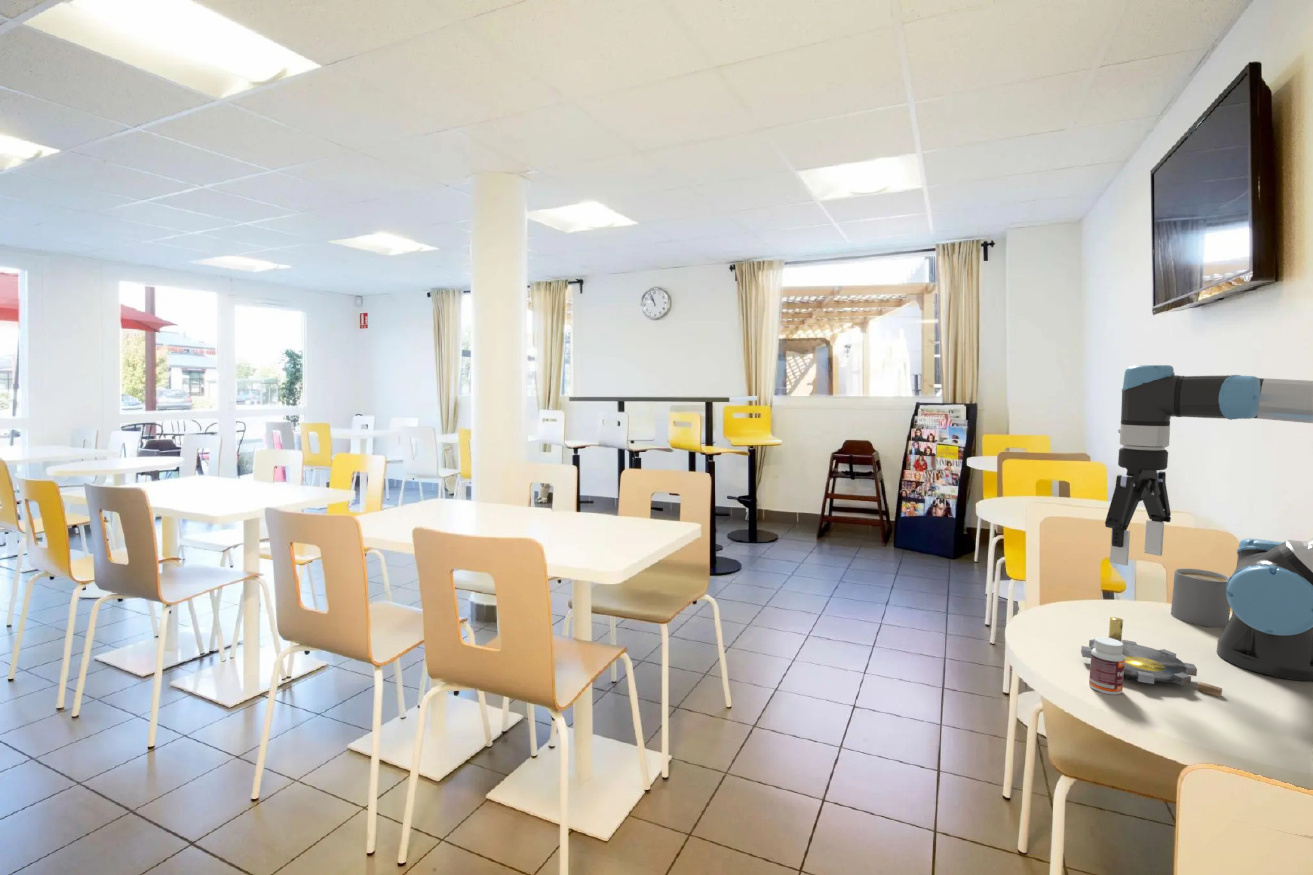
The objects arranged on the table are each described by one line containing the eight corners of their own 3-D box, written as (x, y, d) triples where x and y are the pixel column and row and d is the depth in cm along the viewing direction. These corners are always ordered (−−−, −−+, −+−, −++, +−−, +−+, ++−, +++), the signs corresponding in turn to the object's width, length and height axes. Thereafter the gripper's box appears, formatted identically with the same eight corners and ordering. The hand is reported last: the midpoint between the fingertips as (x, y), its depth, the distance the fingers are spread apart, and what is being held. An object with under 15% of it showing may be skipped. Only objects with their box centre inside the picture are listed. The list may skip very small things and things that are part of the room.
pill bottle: (1123, 698, 110) (1127, 648, 109) (1089, 690, 113) (1092, 642, 112) (1121, 686, 114) (1125, 639, 113) (1088, 679, 117) (1091, 633, 116)
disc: (1182, 655, 124) (1185, 623, 124) (1208, 693, 109) (1211, 656, 109) (1076, 639, 132) (1079, 608, 131) (1087, 672, 117) (1090, 637, 116)
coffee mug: (1230, 630, 141) (1234, 584, 140) (1170, 619, 147) (1174, 575, 146) (1225, 613, 151) (1230, 570, 150) (1170, 603, 157) (1174, 562, 156)
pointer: (1197, 690, 113) (1197, 683, 113) (1199, 688, 114) (1199, 681, 114) (1219, 697, 111) (1220, 690, 111) (1221, 695, 112) (1222, 688, 111)
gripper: (1151, 443, 135) (1145, 546, 137) (1087, 449, 122) (1081, 563, 124) (1196, 446, 128) (1189, 554, 130) (1133, 452, 116) (1126, 572, 118)
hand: (1136, 558), depth 127 cm, fingers open, 13 cm apart
